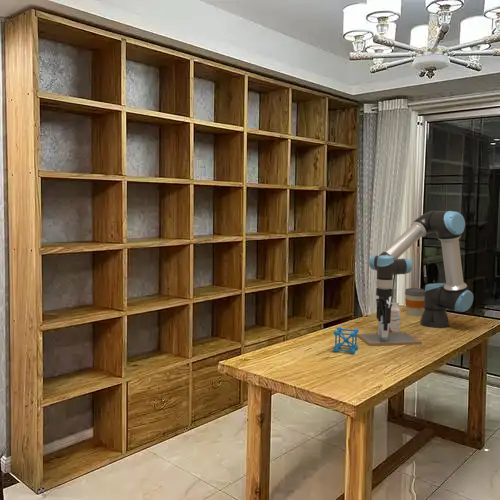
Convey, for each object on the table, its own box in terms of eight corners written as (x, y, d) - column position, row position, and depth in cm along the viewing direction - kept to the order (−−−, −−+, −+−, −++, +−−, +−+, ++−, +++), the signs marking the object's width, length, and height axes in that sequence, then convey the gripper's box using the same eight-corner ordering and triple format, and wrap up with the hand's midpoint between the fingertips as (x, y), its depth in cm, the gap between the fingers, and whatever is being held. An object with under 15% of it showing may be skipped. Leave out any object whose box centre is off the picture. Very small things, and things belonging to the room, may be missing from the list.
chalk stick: (386, 339, 259) (387, 315, 257) (389, 341, 255) (390, 316, 254) (378, 339, 258) (379, 315, 257) (382, 341, 254) (382, 317, 253)
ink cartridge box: (383, 331, 279) (384, 304, 277) (381, 329, 284) (382, 302, 282) (399, 332, 278) (400, 304, 276) (398, 329, 283) (399, 302, 281)
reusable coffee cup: (405, 316, 315) (406, 291, 314) (403, 311, 328) (403, 287, 326) (427, 317, 313) (428, 292, 312) (424, 312, 326) (425, 288, 324)
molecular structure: (332, 352, 240) (333, 330, 239) (337, 346, 249) (337, 325, 248) (354, 354, 236) (355, 333, 235) (358, 349, 246) (359, 328, 245)
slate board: (405, 334, 272) (405, 332, 272) (421, 344, 255) (421, 341, 255) (356, 336, 269) (356, 333, 268) (370, 345, 251) (370, 343, 251)
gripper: (370, 285, 261) (368, 331, 263) (383, 291, 245) (382, 340, 247) (384, 284, 262) (383, 331, 264) (399, 290, 246) (397, 340, 248)
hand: (382, 335), depth 256 cm, fingers closed on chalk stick, 4 cm apart
